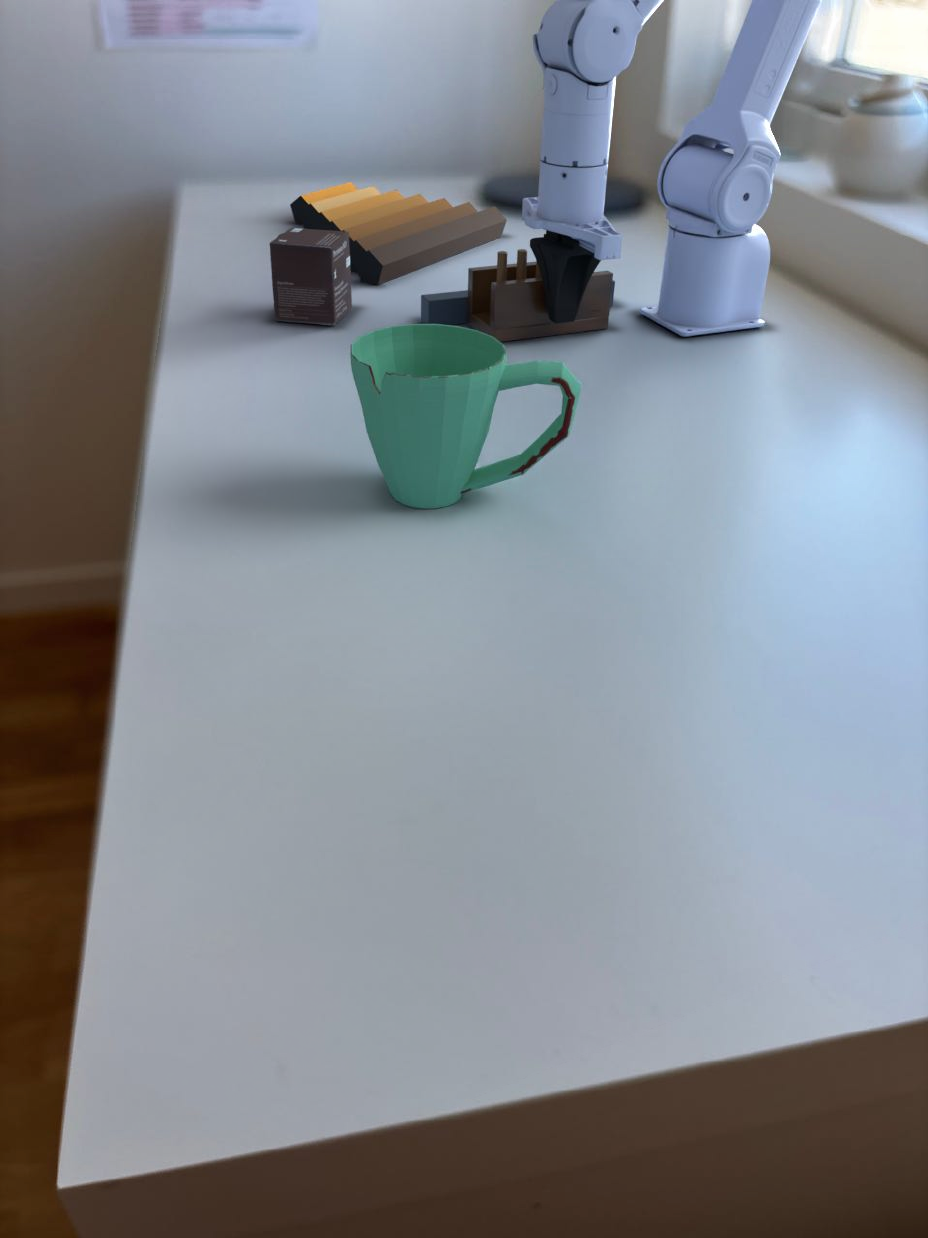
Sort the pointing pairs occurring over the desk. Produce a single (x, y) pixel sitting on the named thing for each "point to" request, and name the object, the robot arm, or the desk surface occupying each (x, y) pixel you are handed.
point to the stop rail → (452, 307)
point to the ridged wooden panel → (396, 228)
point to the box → (311, 276)
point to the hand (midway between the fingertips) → (562, 320)
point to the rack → (528, 301)
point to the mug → (445, 408)
